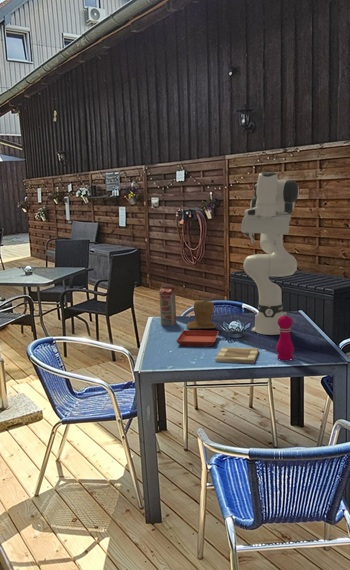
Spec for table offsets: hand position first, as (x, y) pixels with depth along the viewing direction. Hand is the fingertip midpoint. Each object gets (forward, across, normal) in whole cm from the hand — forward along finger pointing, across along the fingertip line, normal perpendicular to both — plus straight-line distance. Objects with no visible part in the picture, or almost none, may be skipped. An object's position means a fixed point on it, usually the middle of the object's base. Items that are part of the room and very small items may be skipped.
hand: (264, 244), depth 218 cm
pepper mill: (+46, -11, +13) cm, 49 cm away
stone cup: (+50, +30, -36) cm, 69 cm away
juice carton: (+52, +49, -45) cm, 84 cm away
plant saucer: (+50, +28, -12) cm, 59 cm away
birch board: (+48, +9, +11) cm, 50 cm away
